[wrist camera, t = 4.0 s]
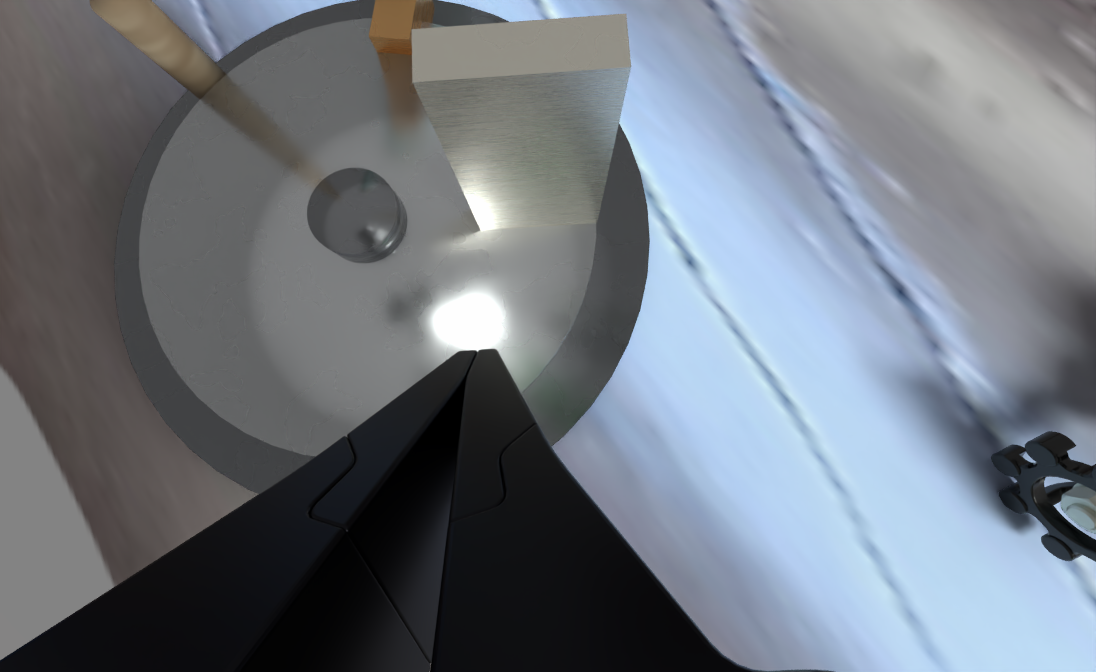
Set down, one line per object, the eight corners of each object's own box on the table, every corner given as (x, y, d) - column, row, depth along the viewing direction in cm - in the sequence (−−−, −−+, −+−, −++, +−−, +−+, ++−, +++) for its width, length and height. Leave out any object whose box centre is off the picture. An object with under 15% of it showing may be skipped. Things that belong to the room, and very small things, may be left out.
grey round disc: (457, 632, 21) (455, 637, 20) (14, 324, 23) (5, 323, 23) (744, 152, 23) (747, 148, 23) (322, -74, 26) (318, -82, 26)
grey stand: (148, 468, 21) (-307, 546, 10) (177, 20, 25) (-140, -294, 13) (611, 442, 21) (670, 492, 10) (576, -9, 24) (591, -357, 13)
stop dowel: (223, 115, 25) (116, 25, 19) (195, 98, 25) (79, 3, 19) (245, 87, 25) (146, -12, 19) (217, 70, 25) (110, -32, 19)
